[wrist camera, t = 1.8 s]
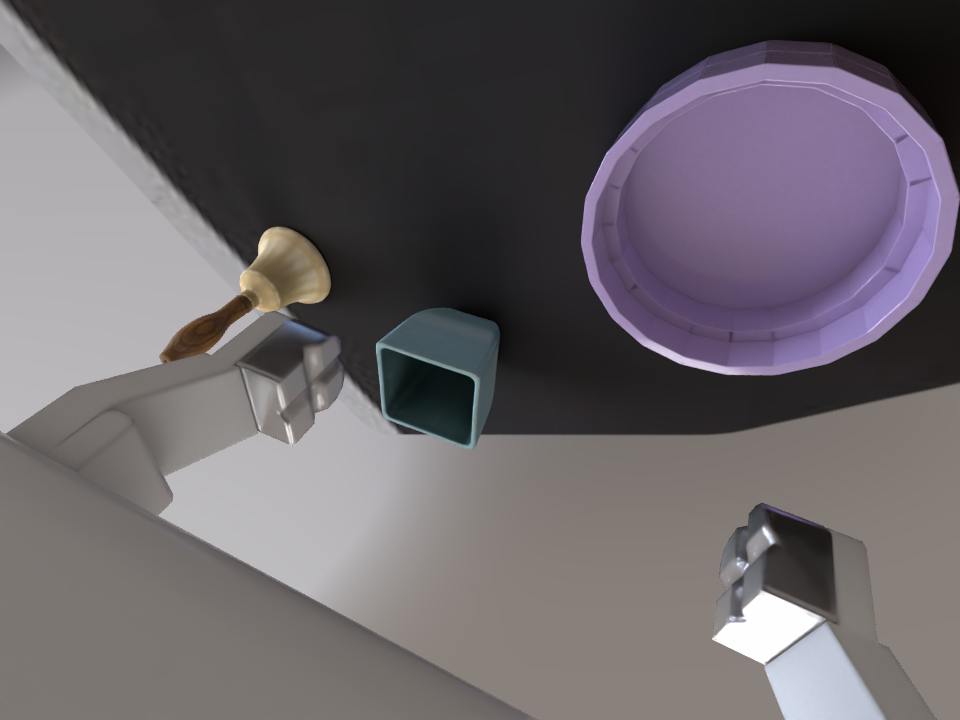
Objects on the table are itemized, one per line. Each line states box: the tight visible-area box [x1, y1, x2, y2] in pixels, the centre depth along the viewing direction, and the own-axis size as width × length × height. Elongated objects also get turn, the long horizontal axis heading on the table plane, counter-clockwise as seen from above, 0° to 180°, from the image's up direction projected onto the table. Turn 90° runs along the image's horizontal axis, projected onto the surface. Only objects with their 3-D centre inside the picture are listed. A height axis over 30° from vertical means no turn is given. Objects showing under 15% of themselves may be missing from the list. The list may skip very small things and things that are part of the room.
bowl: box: [581, 40, 960, 375], centre depth 31 cm, size 17×17×6 cm
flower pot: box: [376, 308, 500, 450], centre depth 46 cm, size 9×9×9 cm
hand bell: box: [159, 227, 331, 364], centre depth 47 cm, size 8×8×16 cm
